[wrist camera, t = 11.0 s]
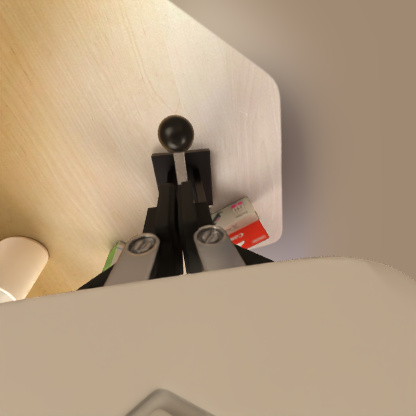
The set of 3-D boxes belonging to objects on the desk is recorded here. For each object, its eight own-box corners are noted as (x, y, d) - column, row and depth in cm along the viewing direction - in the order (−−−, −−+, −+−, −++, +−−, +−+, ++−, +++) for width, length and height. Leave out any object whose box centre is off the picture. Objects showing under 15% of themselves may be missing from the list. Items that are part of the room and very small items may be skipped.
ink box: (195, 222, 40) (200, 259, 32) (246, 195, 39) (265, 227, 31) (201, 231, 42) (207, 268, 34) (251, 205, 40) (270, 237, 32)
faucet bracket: (151, 153, 32) (140, 191, 22) (208, 148, 33) (224, 181, 22) (163, 207, 38) (158, 259, 27) (211, 201, 38) (225, 249, 28)
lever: (155, 113, 21) (152, 120, 18) (191, 110, 21) (193, 117, 18) (174, 218, 28) (174, 235, 25) (200, 214, 29) (203, 231, 26)
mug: (-2, 227, 36) (-60, 275, 27) (56, 242, 39) (22, 290, 30) (-7, 268, 40) (-58, 321, 31) (45, 279, 43) (13, 330, 35)
